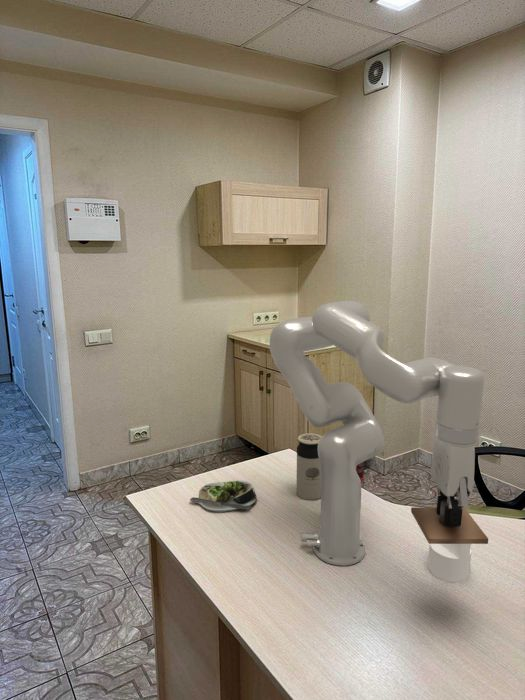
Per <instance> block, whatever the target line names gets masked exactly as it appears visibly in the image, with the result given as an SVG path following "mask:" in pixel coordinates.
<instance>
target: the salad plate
mask: <svg viewBox="0 0 525 700" xmlns="http://www.w3.org/2000/svg"><path fill="white" fill-rule="evenodd" d="M198 494H199V497H190V499H189V501H190V502H192V503H196V504H198V505H199V506H201V507H202V508H203V509H206V510H208V511H211V512H217V513H222V512H223V513H225V512H239V511H246V510H250V509H252V507H253V506H254V505H255V504H256V503H257V501H258V499H257V494H256V491H255V488H254V486H253V484H252V483H251V482H248V481H247V480H229V481H222V482H220V481H219V482H210V483H207V484H205V485H203V486H202V487H201V488H200V489H199V493H198Z"/></svg>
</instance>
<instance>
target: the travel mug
mask: <svg viewBox="0 0 525 700" xmlns="http://www.w3.org/2000/svg"><path fill="white" fill-rule="evenodd" d="M322 436H323V435H320V434H316V433H303V434H300V435H299V436H298V437H297V441H298V445H297V447H296V484H295V486H296V488H295V489H296V490H295V491H296V492H295V493H296V496H298V497H299V498H301V499H304V500H308V501H314V500H317V499H321V469H320V462H319V457H318V443H319V441H320V439H321V437H322Z"/></svg>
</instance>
